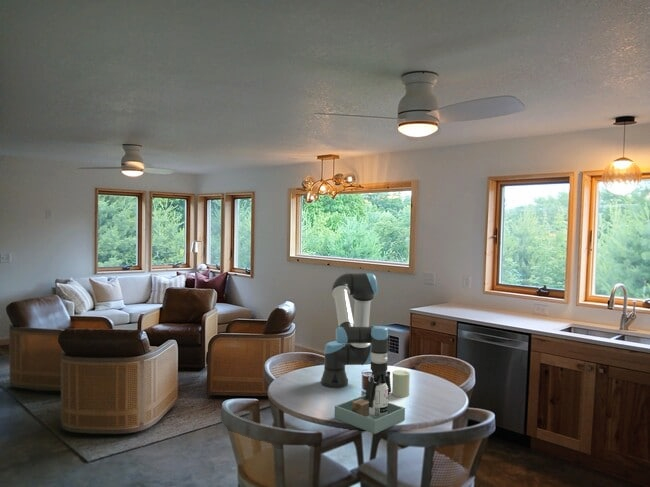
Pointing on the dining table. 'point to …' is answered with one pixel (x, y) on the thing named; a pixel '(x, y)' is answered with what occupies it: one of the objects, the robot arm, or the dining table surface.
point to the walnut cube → (361, 407)
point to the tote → (368, 423)
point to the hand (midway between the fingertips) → (378, 411)
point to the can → (400, 383)
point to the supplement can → (380, 401)
